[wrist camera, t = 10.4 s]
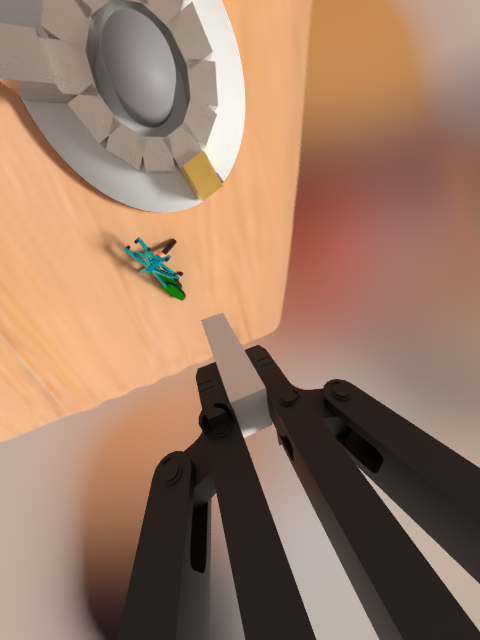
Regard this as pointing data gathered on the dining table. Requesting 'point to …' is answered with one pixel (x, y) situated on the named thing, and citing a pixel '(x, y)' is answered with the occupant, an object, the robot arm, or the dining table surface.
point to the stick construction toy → (168, 280)
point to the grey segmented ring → (84, 93)
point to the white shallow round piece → (142, 103)
